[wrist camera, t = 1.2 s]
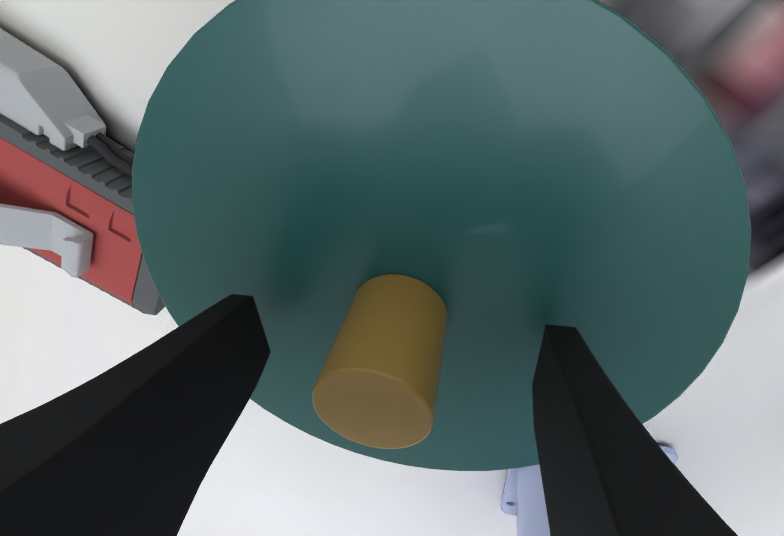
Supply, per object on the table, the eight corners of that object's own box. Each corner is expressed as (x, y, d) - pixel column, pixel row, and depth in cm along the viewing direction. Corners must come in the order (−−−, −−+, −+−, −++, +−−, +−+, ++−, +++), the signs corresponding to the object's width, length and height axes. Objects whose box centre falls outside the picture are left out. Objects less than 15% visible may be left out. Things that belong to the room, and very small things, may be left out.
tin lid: (620, 473, 15) (660, 623, 11) (239, 412, 18) (177, 515, 14) (910, -87, 6) (1512, -192, 2) (54, -18, 9) (-227, -22, 5)
